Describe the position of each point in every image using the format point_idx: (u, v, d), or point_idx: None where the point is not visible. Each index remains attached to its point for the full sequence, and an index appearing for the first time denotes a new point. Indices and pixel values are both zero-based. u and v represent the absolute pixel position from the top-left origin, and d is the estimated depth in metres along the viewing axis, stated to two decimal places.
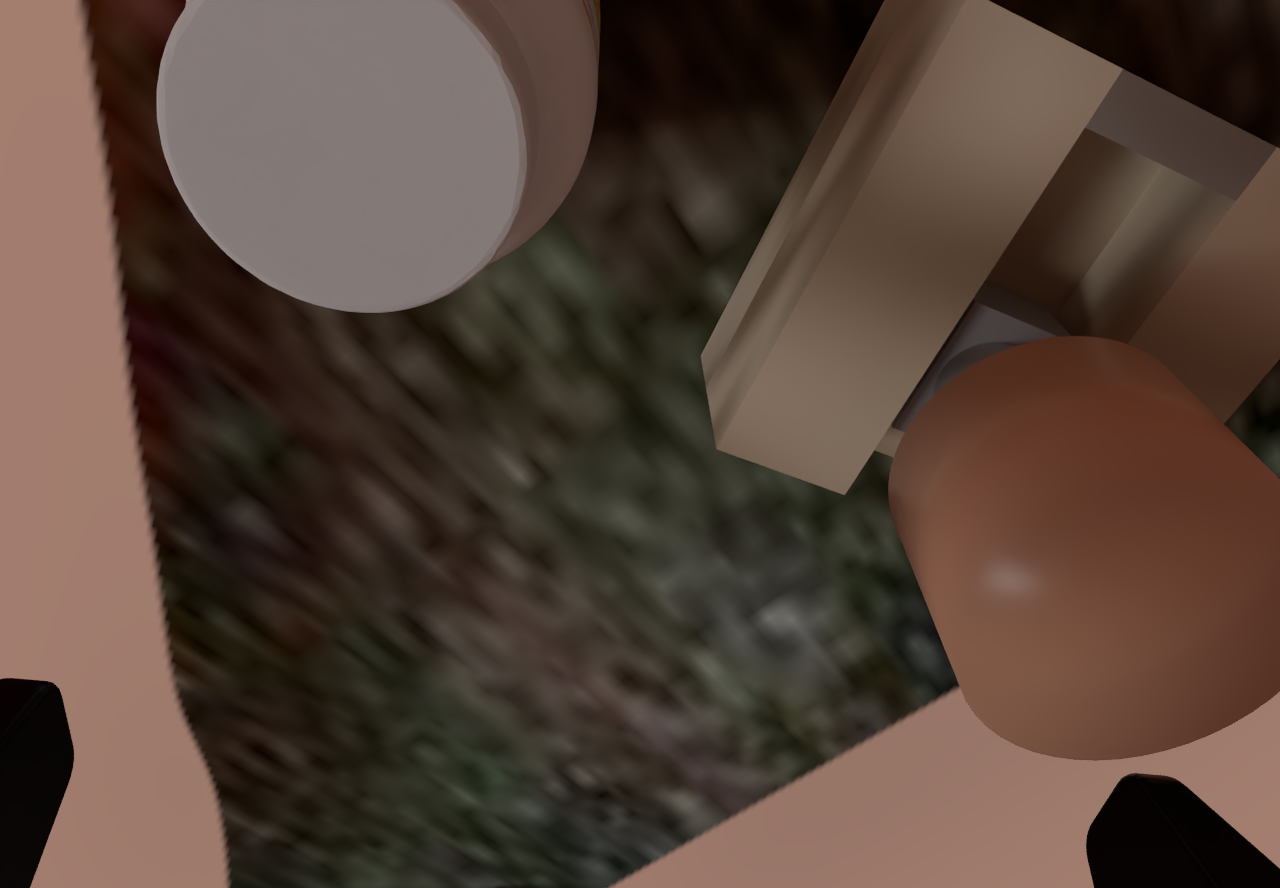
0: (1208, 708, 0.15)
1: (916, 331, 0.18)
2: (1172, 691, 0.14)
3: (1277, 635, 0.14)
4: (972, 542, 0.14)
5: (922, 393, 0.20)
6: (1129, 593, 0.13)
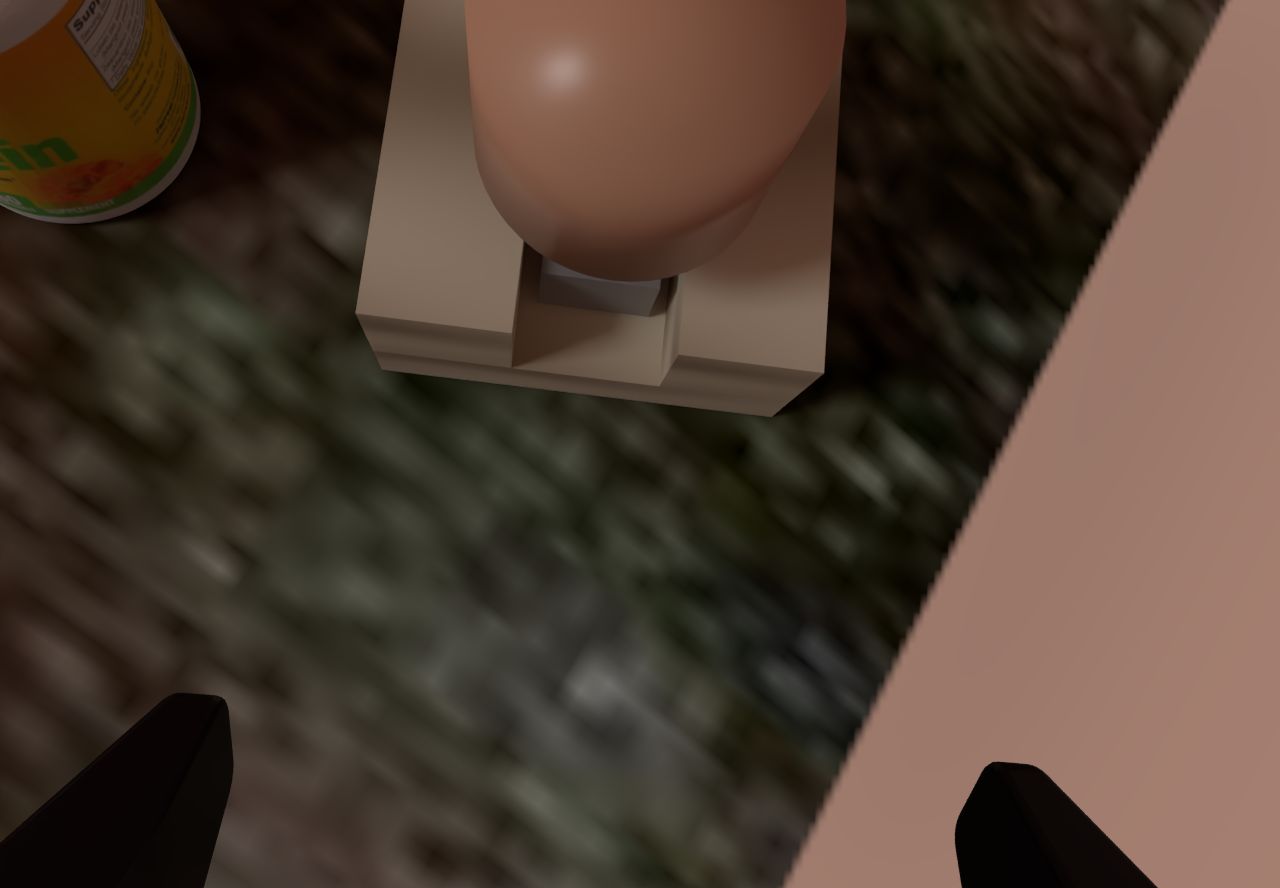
0: (789, 72, 0.13)
1: None
2: (736, 58, 0.13)
3: None
4: None
5: None
6: None
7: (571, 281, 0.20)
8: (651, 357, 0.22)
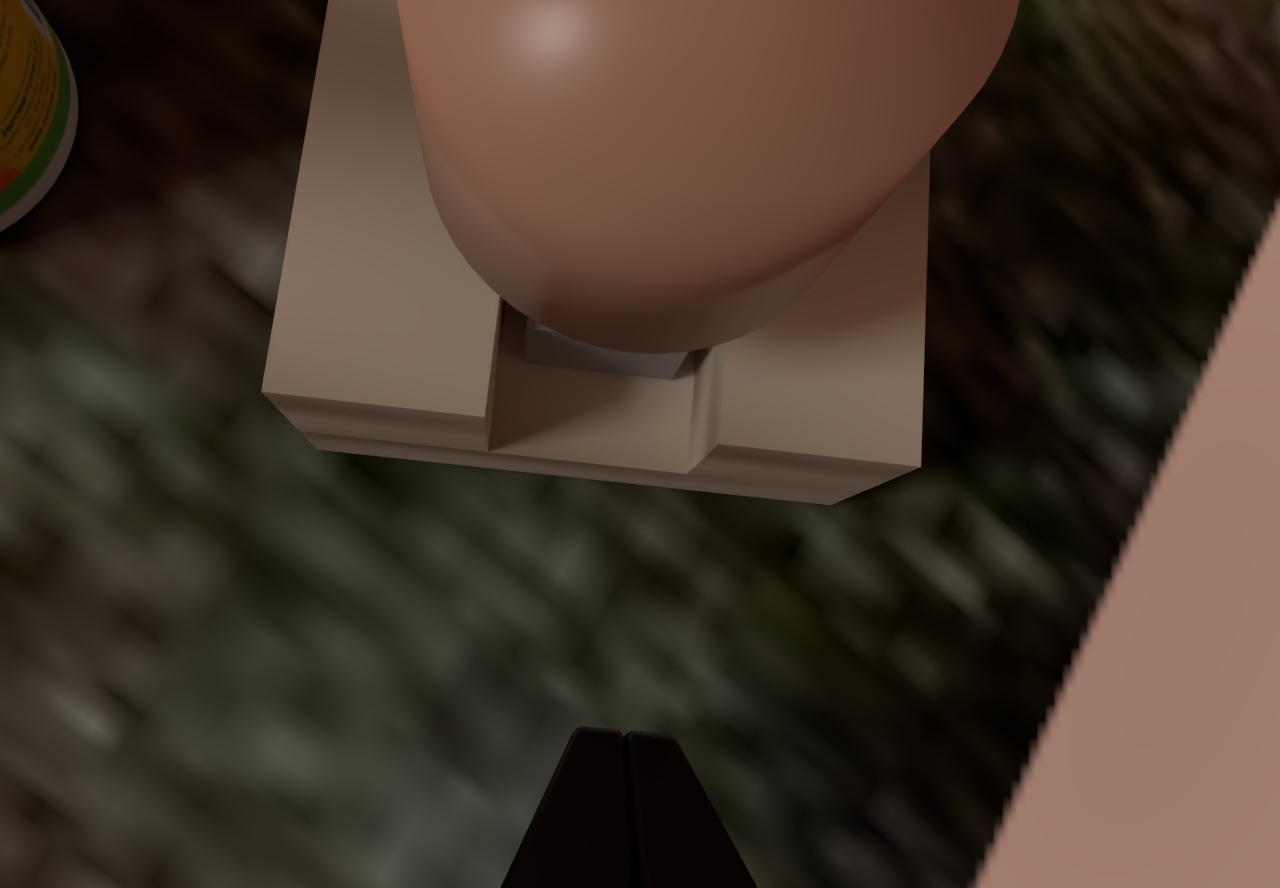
0: (936, 28, 0.08)
1: None
2: (846, 3, 0.08)
3: None
4: None
5: None
6: None
7: (569, 338, 0.15)
8: (676, 434, 0.16)
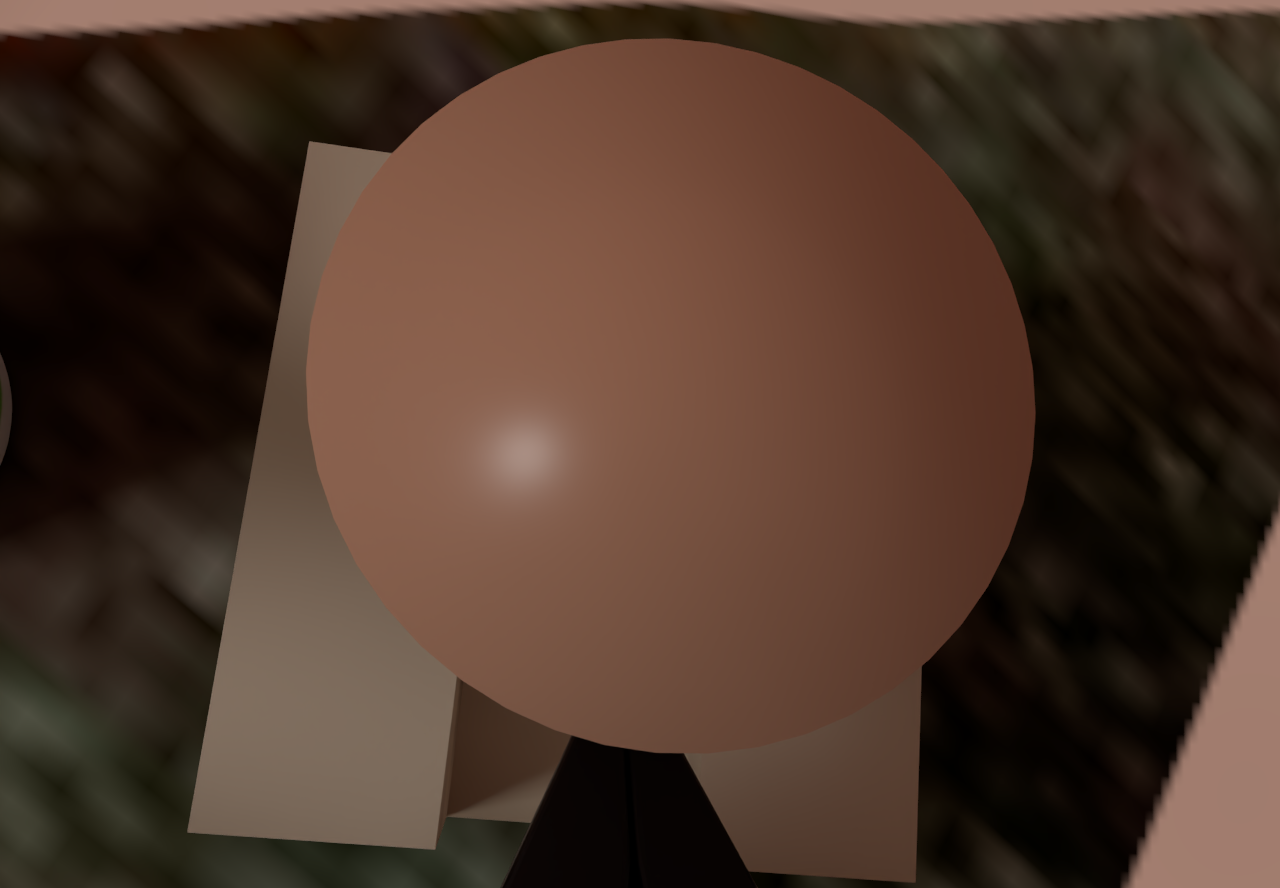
0: (935, 516, 0.07)
1: None
2: (834, 494, 0.07)
3: (929, 312, 0.07)
4: None
5: None
6: (601, 291, 0.07)
7: None
8: None
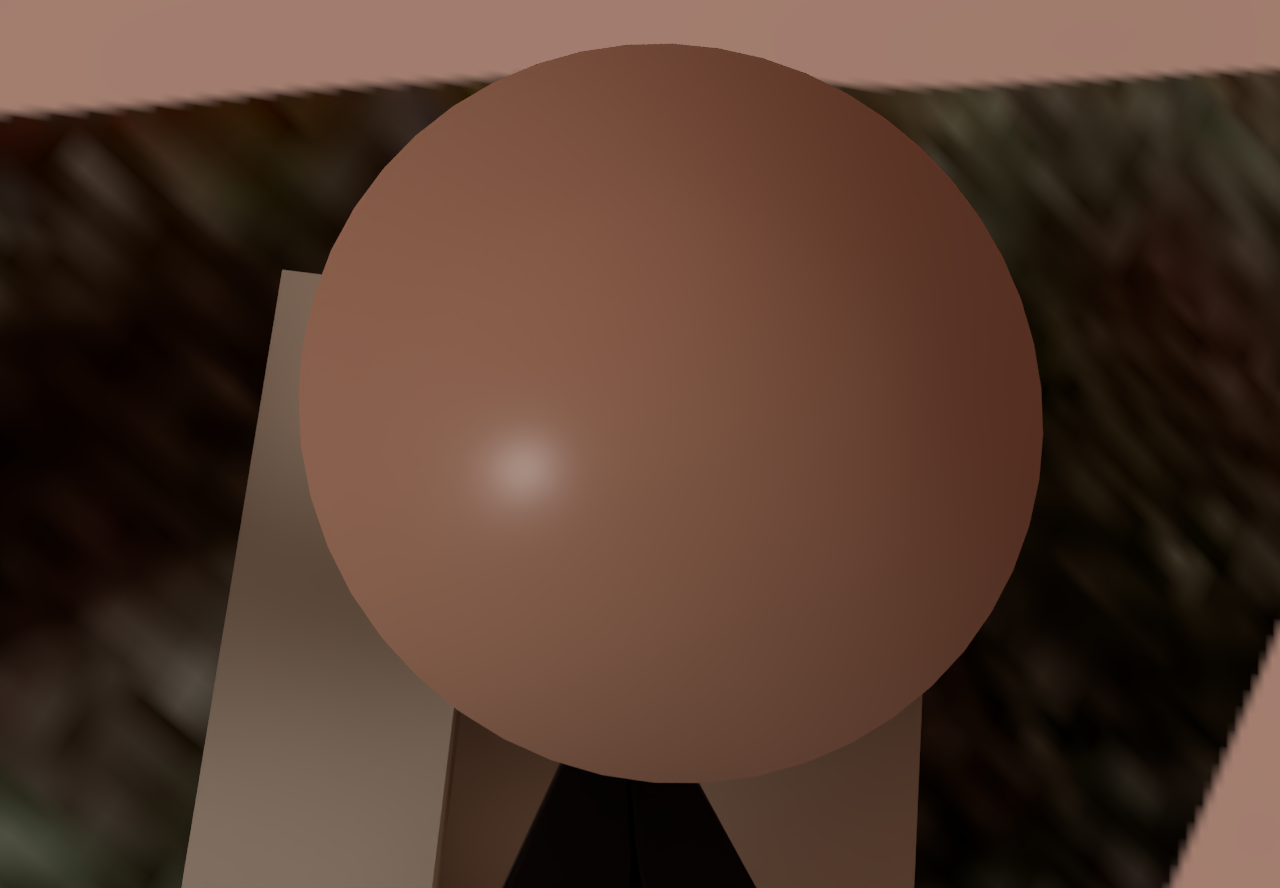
0: (940, 541, 0.07)
1: (406, 696, 0.12)
2: (837, 518, 0.07)
3: (936, 330, 0.07)
4: None
5: None
6: (599, 310, 0.07)
7: None
8: None
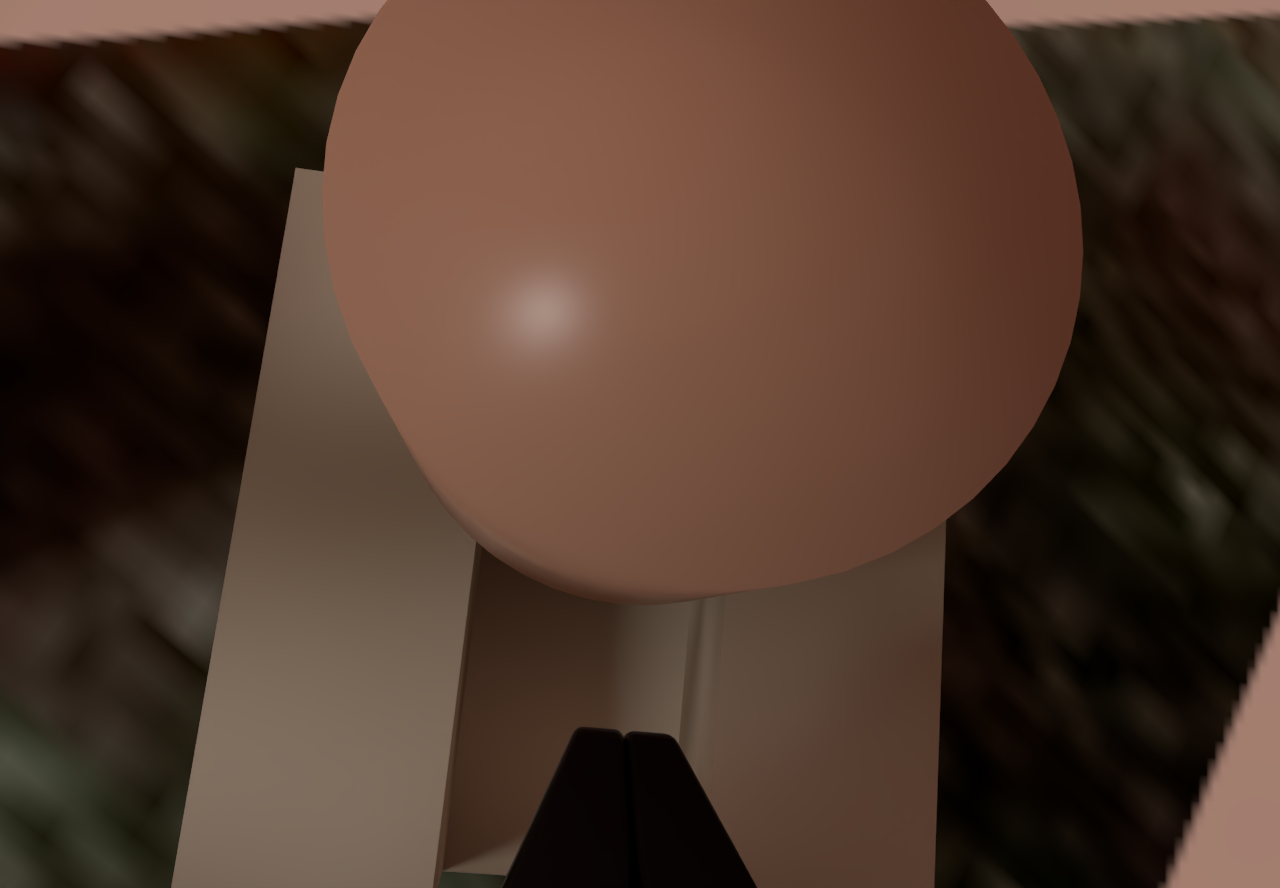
0: (979, 353, 0.07)
1: (419, 593, 0.12)
2: (874, 328, 0.07)
3: (971, 146, 0.07)
4: None
5: None
6: (631, 117, 0.07)
7: None
8: None
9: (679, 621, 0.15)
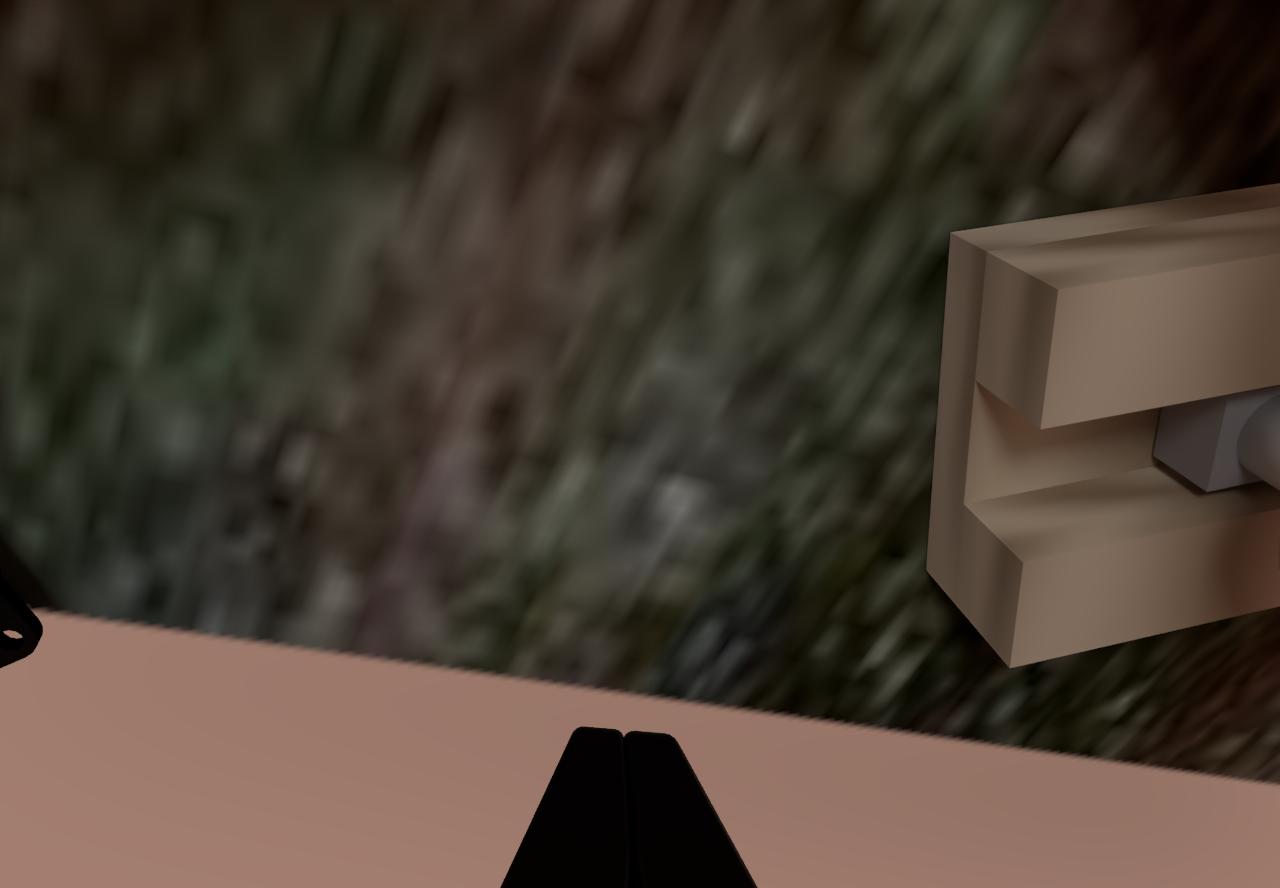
0: None
1: (1211, 371, 0.20)
2: None
3: None
4: None
5: (1265, 393, 0.21)
6: None
7: (1214, 417, 0.22)
8: (989, 491, 0.23)
9: (1108, 470, 0.24)
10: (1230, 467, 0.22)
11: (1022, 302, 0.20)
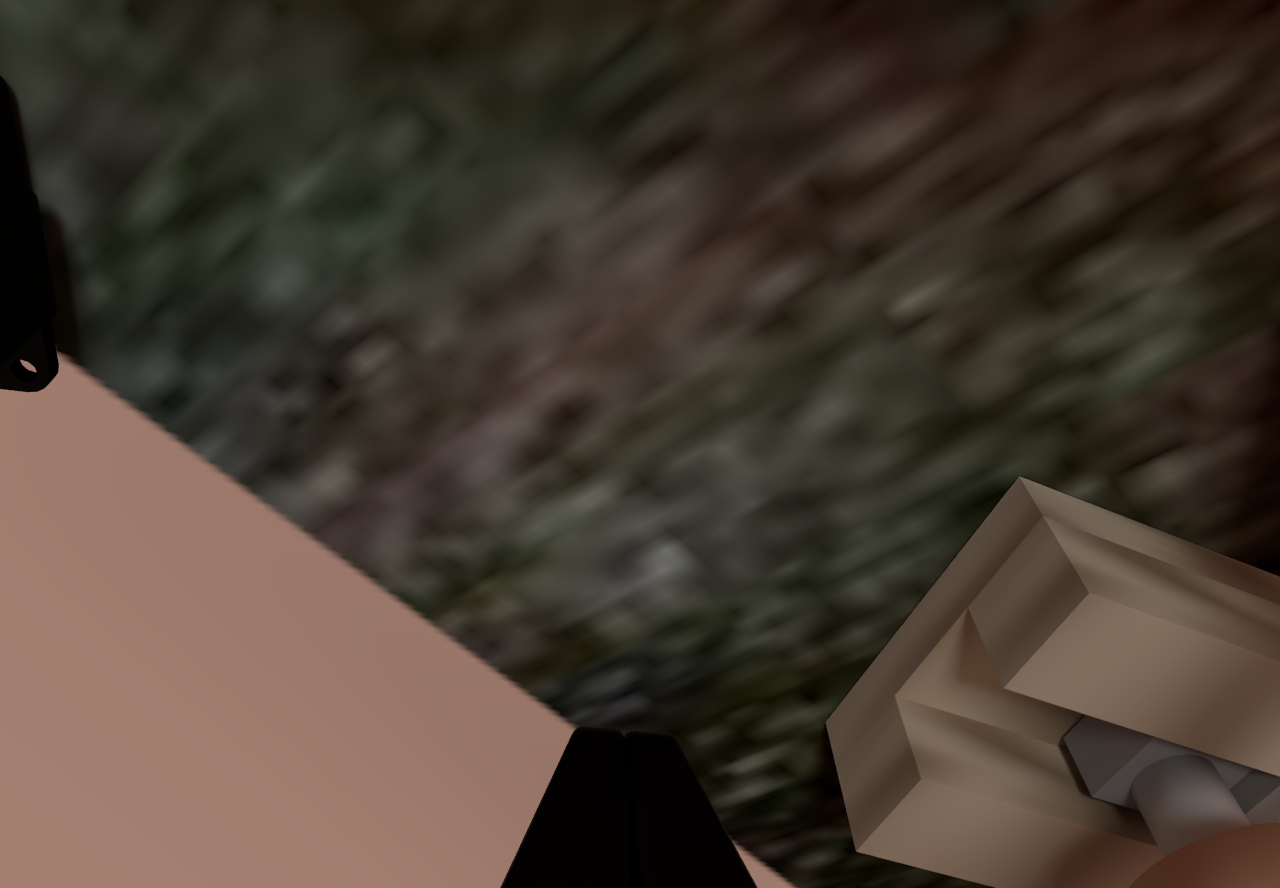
0: None
1: (1159, 715, 0.22)
2: None
3: None
4: None
5: (1184, 748, 0.23)
6: None
7: (1134, 744, 0.24)
8: (920, 696, 0.25)
9: (1021, 730, 0.26)
10: (1122, 788, 0.24)
11: (1050, 579, 0.21)
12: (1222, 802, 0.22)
